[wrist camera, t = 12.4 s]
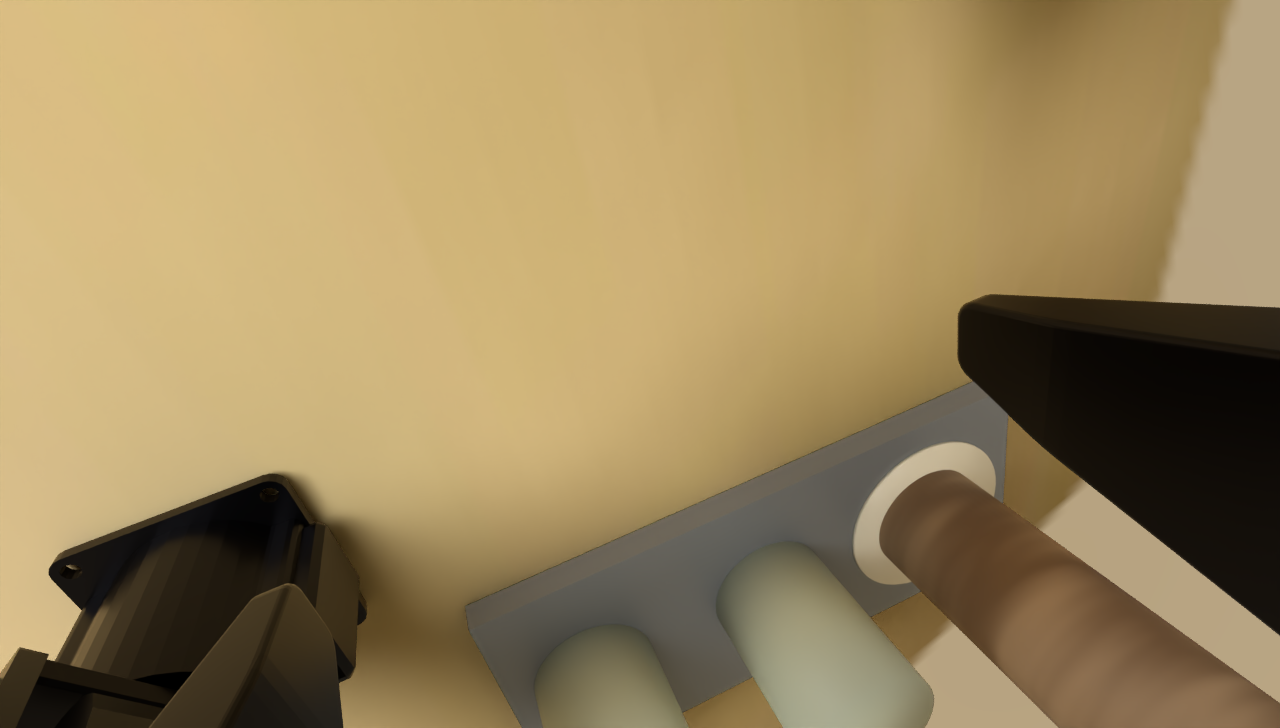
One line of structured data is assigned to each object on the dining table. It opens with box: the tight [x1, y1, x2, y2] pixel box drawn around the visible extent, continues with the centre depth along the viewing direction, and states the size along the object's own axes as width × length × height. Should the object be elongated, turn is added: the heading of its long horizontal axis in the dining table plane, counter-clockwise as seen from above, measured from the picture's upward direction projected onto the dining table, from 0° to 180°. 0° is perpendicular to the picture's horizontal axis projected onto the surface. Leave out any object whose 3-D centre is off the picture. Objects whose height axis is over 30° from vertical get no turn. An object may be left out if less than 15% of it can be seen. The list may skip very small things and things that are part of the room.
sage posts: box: [534, 541, 934, 728], centre depth 24 cm, size 13×5×7 cm, turn 104°
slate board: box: [465, 381, 1008, 728], centre depth 29 cm, size 24×10×1 cm, turn 104°
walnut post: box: [879, 470, 1280, 728], centre depth 24 cm, size 5×5×13 cm
